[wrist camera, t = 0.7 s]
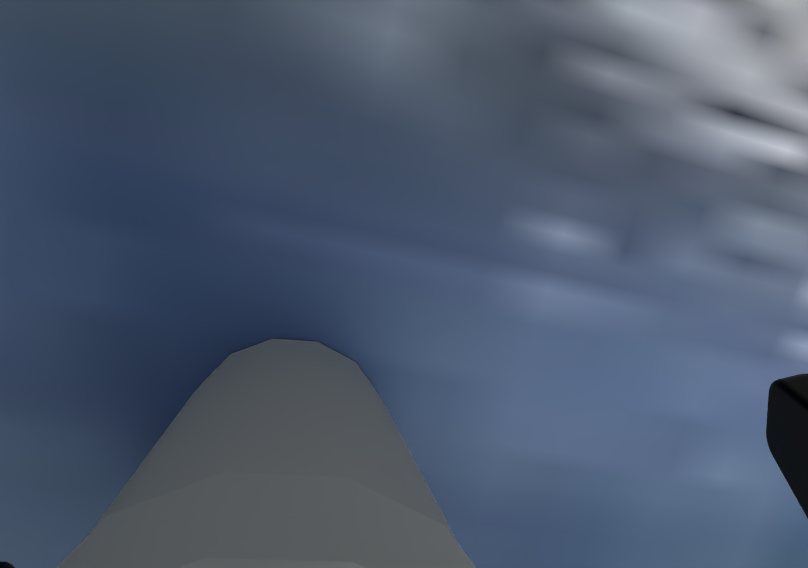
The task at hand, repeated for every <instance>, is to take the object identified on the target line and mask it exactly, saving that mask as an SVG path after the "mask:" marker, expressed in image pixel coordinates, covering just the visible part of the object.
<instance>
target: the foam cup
mask: <svg viewBox="0 0 808 568" xmlns="http://www.w3.org/2000/svg"><path fill="white" fill-rule="evenodd" d="M56 568H476V567H475V566H474V565H473V563H472V562H471V561H470V559H469V558H468V556H467V555H466V554H465V552H464V551H463V550H462V548H461V547H460V545H459V544H458V542H457V540H456V538H455V536H454V534H453V532H452V530H451V529H450V527H449V525H448V523H447V521H446V519H445V517H444V515H443V513H442V512H441V510H440V508H439V506H438V504H437V502H436V500H435V498H434V496H433V495H432V493H431V491H430V489H429V487H428V485H427V483H426V481H425V479H424V478H423V476H422V474H421V472H420V470H419V468H418V466H417V464H416V462H415V461H414V459H413V457H412V455H411V453H410V451H409V449H408V447H407V445H406V444H405V442H404V440H403V438H402V436H401V434H400V432H399V430H398V428H397V427H396V425H395V423H394V421H393V419H392V417H391V415H390V413H389V411H388V410H387V408H386V406H385V404H384V402H383V401H382V399H381V398H380V397H379V394H378V393H377V391H376V390H375V388H374V387H373V386H372V384H371V383H370V381H369V380H368V379H367V377H366V376H365V374H364V373H363V372H362V370H361V369H360V367H359V366H358V365H357V363H356V362H355V361H353V360H351V359H349V358H347V357H345V356H344V355H342V354H340V353H338V352H336V351H334V350H332V349H331V348H329V347H327V346H325V345H323V344H321V343H319V342H317V341H302V340H287V339H270V340H267V341H265V342H262V343H259V344H256V345H254V346H251V347H248V348H245V349H243V350H240V351H237V352H235V353H232V354H230V355H229V356H228V357H227V358H226V359H225V360H224V361H223V362H222V363H221V364H220V365H219V366H218V367H217V368H216V369H215V370H214V371H213V372H212V373H211V374H210V375H209V376H208V377H207V378H206V379H205V380H204V381H203V382H202V383H201V384H200V387H199V388H198V389H197V390H196V391H195V392H194V393H193V394H192V396H191V397H190V398H189V400H188V401H187V402H186V404H185V405H184V406H183V408H182V409H181V410H180V412H179V413H178V414H177V416H176V417H175V418H174V420H173V421H172V423H171V424H170V425H169V427H168V428H167V429H166V431H165V432H164V433H163V435H162V436H161V437H160V439H159V440H158V441H157V443H156V444H155V445H154V447H153V448H152V449H151V451H150V452H149V453H148V455H147V456H146V457H145V459H144V460H143V462H142V463H141V464H140V466H139V467H138V468H137V470H136V471H135V472H134V474H133V475H132V476H131V478H130V479H129V480H128V482H127V483H126V484H125V486H124V487H123V488H122V490H121V491H120V492H119V494H118V495H117V497H116V498H115V499H114V501H113V502H112V503H111V505H110V506H109V507H108V509H107V510H106V511H105V513H104V514H103V515H102V517H101V518H100V519H99V521H98V522H97V523H96V525H95V526H94V527H93V529H92V530H91V531H90V533H89V534H88V536H87V537H86V538H85V539H84V540H83V541H82V542H81V543H80V544H79V545H78V546H77V547H76V548H75V549H74V550H73V551H72V552H71V553H70V554H69V555H68V556H67V557H66V558H65V559H64V560H63V561H62V562H61V563H60V564H59V565H58V566H57V567H56Z"/></svg>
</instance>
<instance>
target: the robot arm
mask: <svg viewBox="0 0 808 568" xmlns="http://www.w3.org/2000/svg"><path fill="white" fill-rule="evenodd" d="M766 437H767V442H768V446H769V449H770V451H771V453H772V455H773V457H774V459H775V461H776V462H777V464H778V466H779V468H780V470H781V471H782V473H783V475H784V477H785V479H786V480H787V482H788V484H789V486H790V487H791V489H792V491H793V493H794V495H795V496H796V498H797V500H798V502H799V504H800V505H801V507H802V509H803V511H804V512H805V514H806V516H807V518H808V374H799V375H795V376H791V377H787V378H782V379H778V380H776V381H774V382H773V383H772V384H771V386H770V389H769V397H768V412H767V427H766ZM0 568H14V566H13V565H11V564H10V563H8V562H0Z"/></svg>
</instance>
